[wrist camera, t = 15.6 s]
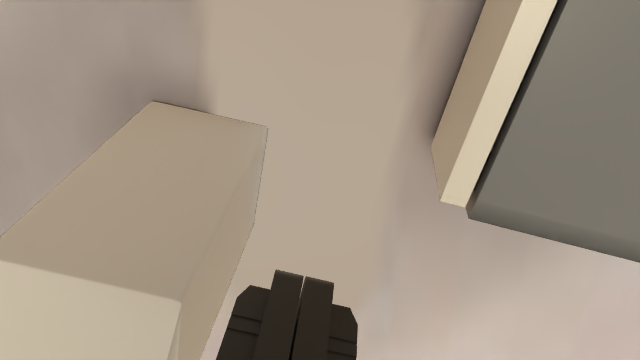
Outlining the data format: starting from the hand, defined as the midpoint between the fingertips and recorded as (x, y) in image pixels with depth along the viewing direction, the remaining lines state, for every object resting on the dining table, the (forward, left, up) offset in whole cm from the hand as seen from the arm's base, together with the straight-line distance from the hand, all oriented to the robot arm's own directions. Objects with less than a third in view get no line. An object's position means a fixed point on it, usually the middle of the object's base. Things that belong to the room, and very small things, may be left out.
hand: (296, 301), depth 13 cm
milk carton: (-7, -8, -18) cm, 21 cm away
